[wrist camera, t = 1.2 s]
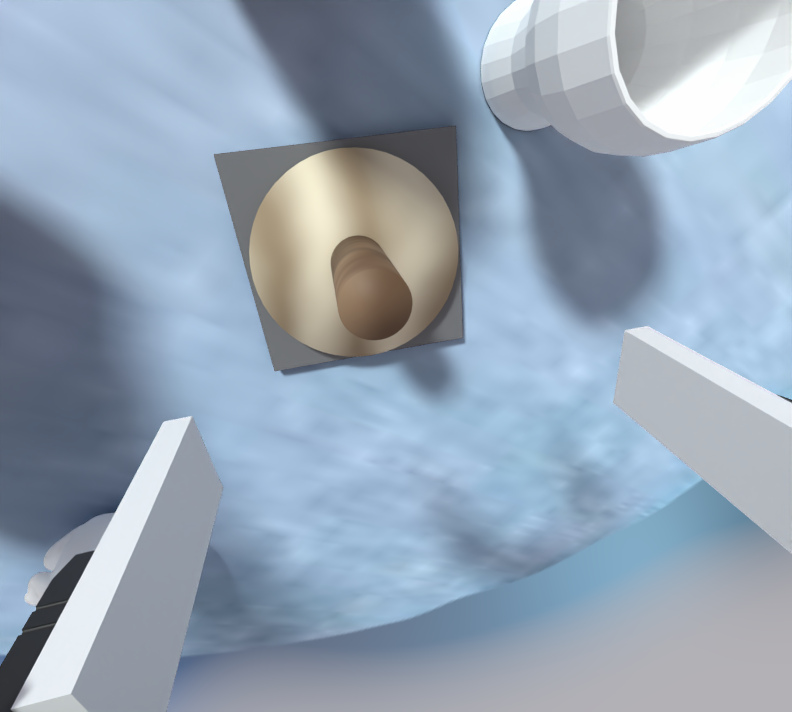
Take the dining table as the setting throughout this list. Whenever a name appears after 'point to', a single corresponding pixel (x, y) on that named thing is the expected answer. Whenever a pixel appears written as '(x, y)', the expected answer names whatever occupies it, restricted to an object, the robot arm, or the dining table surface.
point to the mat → (262, 168)
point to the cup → (636, 69)
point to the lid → (353, 252)
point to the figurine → (67, 553)
